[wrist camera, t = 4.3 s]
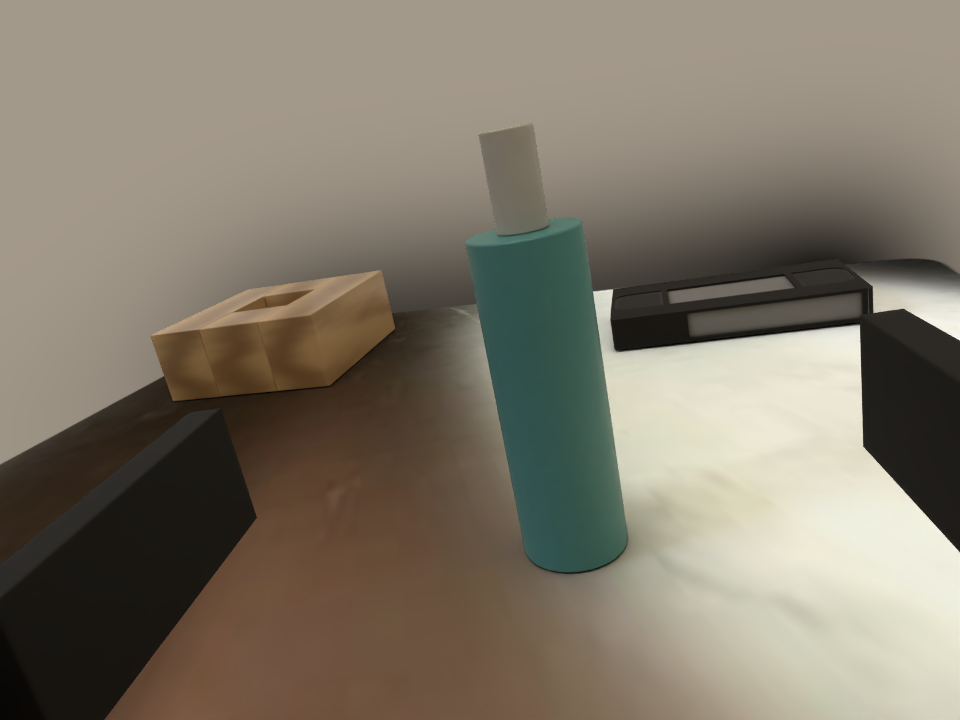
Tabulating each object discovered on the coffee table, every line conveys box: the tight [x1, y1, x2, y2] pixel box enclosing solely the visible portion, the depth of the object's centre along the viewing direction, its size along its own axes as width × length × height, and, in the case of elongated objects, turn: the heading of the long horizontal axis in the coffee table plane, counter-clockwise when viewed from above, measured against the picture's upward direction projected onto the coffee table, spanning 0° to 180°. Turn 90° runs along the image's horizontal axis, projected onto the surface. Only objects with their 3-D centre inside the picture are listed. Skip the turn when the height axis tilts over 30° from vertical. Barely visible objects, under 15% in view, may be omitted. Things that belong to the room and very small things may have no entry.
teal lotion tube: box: [465, 123, 628, 573], centre depth 23 cm, size 4×4×14 cm
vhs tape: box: [611, 259, 873, 350], centre depth 44 cm, size 8×14×2 cm, turn 79°
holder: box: [151, 271, 395, 401], centre depth 54 cm, size 13×13×5 cm
